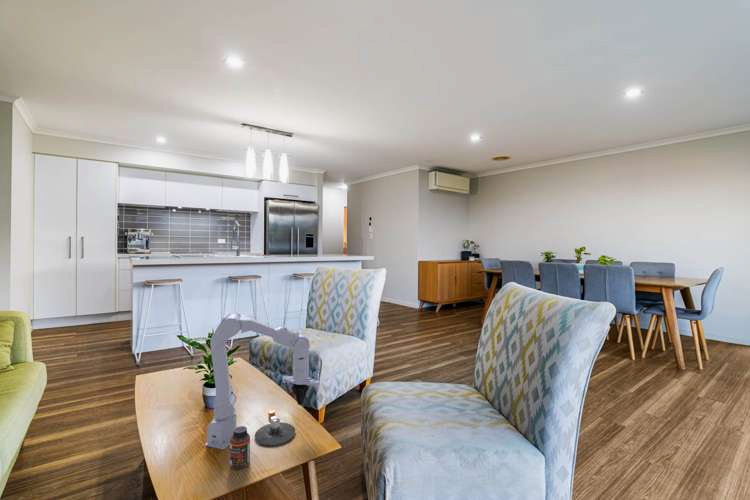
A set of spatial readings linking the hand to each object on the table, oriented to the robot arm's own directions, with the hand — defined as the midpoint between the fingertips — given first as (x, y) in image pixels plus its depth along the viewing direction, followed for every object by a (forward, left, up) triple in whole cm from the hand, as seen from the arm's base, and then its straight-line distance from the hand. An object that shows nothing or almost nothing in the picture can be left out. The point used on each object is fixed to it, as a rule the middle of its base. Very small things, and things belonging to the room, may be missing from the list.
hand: (300, 403), depth 132 cm
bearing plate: (-6, +7, -10) cm, 14 cm away
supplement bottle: (-24, +8, -10) cm, 27 cm away
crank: (-4, +9, -9) cm, 13 cm away
